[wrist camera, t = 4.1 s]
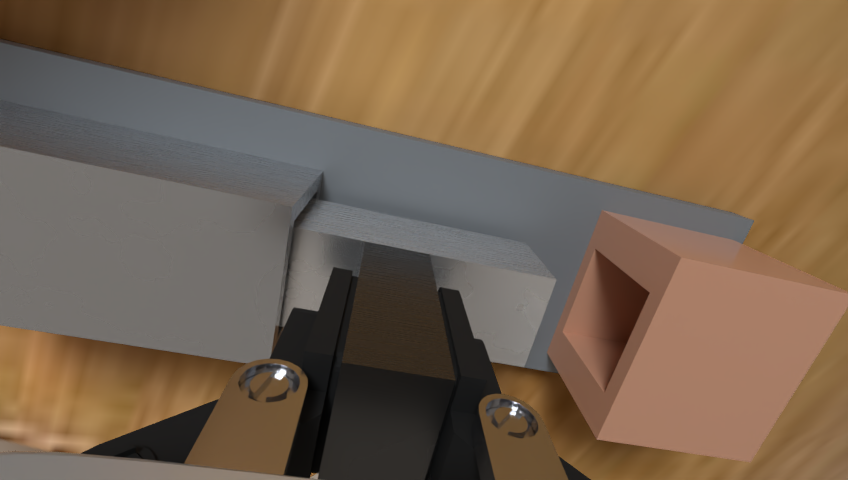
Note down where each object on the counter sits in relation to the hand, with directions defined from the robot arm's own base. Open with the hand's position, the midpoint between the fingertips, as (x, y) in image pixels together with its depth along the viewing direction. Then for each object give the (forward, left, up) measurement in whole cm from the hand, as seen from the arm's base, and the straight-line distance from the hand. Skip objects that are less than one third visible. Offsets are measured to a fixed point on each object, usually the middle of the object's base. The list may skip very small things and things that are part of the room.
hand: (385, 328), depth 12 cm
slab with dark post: (+2, +2, -5) cm, 6 cm away
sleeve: (+6, +7, -6) cm, 11 cm away
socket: (-7, -9, -6) cm, 13 cm away
